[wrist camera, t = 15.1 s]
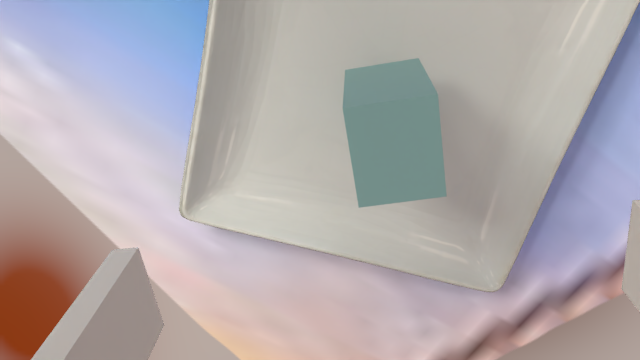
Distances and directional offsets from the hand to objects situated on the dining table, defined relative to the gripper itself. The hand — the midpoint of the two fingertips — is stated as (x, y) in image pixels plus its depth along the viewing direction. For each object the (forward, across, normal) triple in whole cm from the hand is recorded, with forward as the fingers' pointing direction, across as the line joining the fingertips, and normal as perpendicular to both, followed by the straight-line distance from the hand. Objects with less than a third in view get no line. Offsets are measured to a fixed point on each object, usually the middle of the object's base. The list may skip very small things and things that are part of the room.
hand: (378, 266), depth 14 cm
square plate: (+28, +2, -3) cm, 28 cm away
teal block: (+24, +2, -3) cm, 24 cm away
